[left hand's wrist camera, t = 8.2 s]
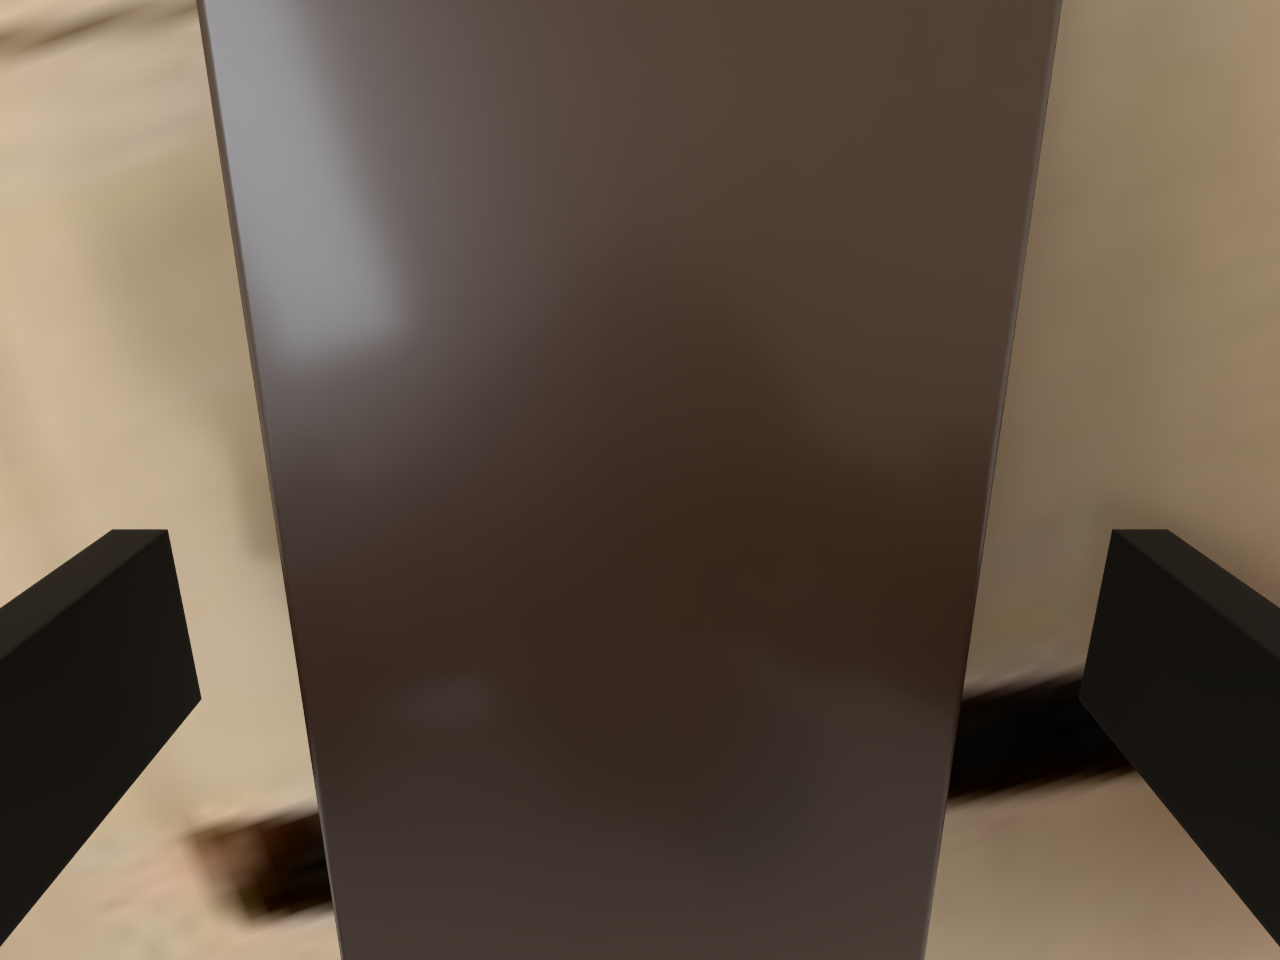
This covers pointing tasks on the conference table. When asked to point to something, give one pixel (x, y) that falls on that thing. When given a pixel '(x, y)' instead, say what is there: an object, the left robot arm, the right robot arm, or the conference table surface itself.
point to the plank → (630, 448)
